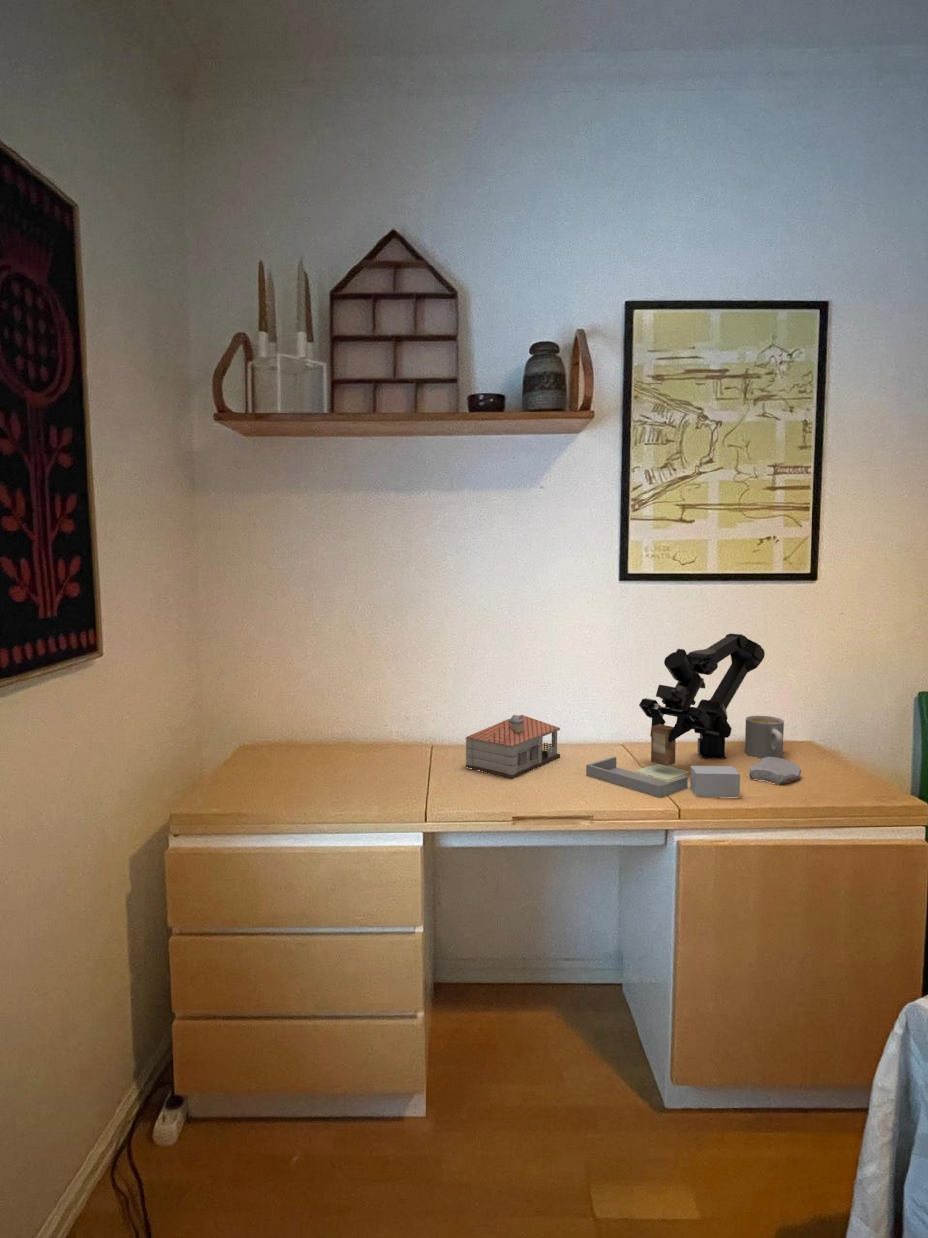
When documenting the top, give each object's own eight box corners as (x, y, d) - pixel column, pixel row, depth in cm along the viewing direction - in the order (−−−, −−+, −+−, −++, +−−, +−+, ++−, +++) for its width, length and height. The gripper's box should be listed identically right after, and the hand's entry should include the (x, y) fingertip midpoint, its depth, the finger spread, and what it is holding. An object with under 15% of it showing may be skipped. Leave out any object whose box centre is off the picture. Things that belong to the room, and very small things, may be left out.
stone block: (802, 783, 185) (764, 768, 192) (806, 766, 184) (768, 751, 190) (784, 796, 177) (745, 780, 183) (788, 779, 175) (749, 762, 182)
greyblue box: (732, 790, 175) (732, 766, 174) (739, 799, 169) (740, 774, 168) (690, 789, 176) (690, 765, 175) (695, 798, 170) (696, 773, 169)
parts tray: (613, 767, 193) (613, 756, 193) (687, 788, 176) (687, 776, 176) (586, 776, 186) (586, 765, 186) (660, 799, 169) (660, 786, 169)
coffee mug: (740, 749, 210) (741, 715, 209) (775, 749, 209) (776, 715, 208) (755, 762, 196) (756, 726, 196) (792, 763, 196) (794, 727, 195)
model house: (513, 780, 185) (513, 723, 183) (465, 769, 194) (465, 714, 193) (561, 758, 203) (561, 706, 202) (515, 749, 213) (515, 699, 211)
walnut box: (659, 759, 191) (659, 724, 190) (675, 763, 187) (675, 727, 186) (650, 761, 189) (651, 726, 188) (667, 766, 185) (667, 730, 184)
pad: (658, 764, 195) (658, 763, 195) (690, 773, 188) (690, 771, 188) (635, 772, 189) (635, 770, 189) (667, 781, 181) (667, 780, 181)
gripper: (643, 668, 196) (617, 715, 190) (704, 677, 181) (678, 728, 175) (660, 693, 201) (635, 739, 195) (721, 703, 187) (696, 753, 181)
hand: (660, 739), depth 187 cm, fingers closed on walnut box, 5 cm apart
